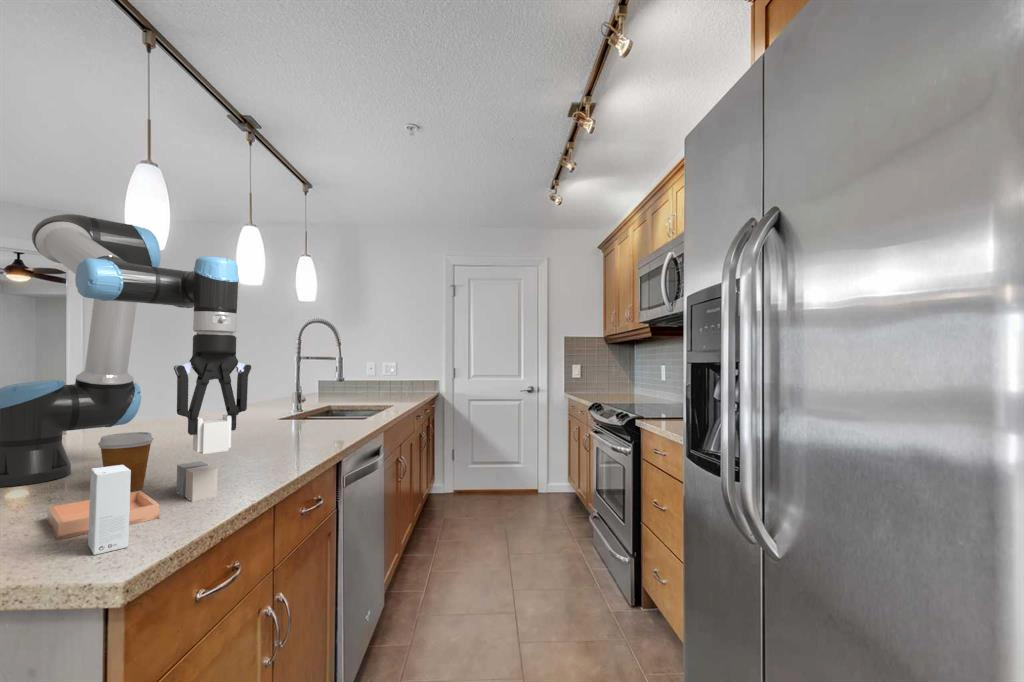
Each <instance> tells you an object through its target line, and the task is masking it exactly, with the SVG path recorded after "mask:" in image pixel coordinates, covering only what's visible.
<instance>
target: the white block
mask: <svg viewBox="0 0 1024 682" xmlns="http://www.w3.org/2000/svg"><path fill="white" fill-rule="evenodd" d="M229 449H230V448H229V421H227V420H223V418H220V419H219V418H216V419H207V420H204V419H203V423H202V452H198V453H200V454H202V455H206V454H207V455H208V454H214V453H221V452H228V451H229Z"/></svg>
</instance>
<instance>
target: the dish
mask: <svg viewBox="0 0 1024 682" xmlns="http://www.w3.org/2000/svg"><path fill="white" fill-rule="evenodd" d="M89 506H90V499H85V500H79V501H74V502H73V501H72V502H68V503H63V504H62V503H61V504H56V505H52V506H47V509H46V511H47V512H46V513H47V515H46V516H47V518H46V521H48V522H47V523H48V525H49V527H50V529H51V528H52V529H51V530H52V532H53V534H54V535H55V537H56V540H58V541H59V540H65V539H68V538H69V537H70V538H74V537H78V536H83V535H88V532H89ZM157 519H160V503H158V501H156V500H154V499H153V498H152V497H150V496H149V495H147V494H146V493H145V492H143V491H142V490H136V491H132V492H130V513H129V526H130V525H133V524H139V523H144V522H146V521H147V522H148V521H153V520H157Z"/></svg>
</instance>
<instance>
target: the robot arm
mask: <svg viewBox="0 0 1024 682" xmlns="http://www.w3.org/2000/svg"><path fill="white" fill-rule="evenodd" d="M31 241H32V244H33V246H34V248H35V249H36V251H37V252H38V253H39V254H41V255H42V256H43V257H44V258H45V259H47V260H48V261H51V262H54V263H57V264H62V265H63V266H64V267H66V268H67V269H68V270H69V271H71V272H72V273H73V274H75V279H74V280H75V282H74V283H75V287H76V288H77V292H78V294H79V295H80V296H82V297H84V298H86V299H93V302H92V311H91V319H90V325H89V326H90V327H89V335H88V341H87V342H88V343H87V350H86V357H85V358H86V359H85V366H84V370H83V371H81V372H80V373H78V374H77V375H76V376H75V382H74V383H73V384H66V382H65V381H64V380H63V379H58V378H57V379H47V380H36V381H35V380H34V381H28V382H27V381H26V382H20V383H14V384H8V385H4V386H2V387H0V487H1V488H3V487H4V488H5V487H15V486H26V485H32V484H37V483H43V482H48V481H49V482H50V481H53V480H58V479H61V478H64V477H67V476H69V475H71V473H72V472H71V471H72V464H71V461H70V459H69V457H68V455H67V451H66V449H65V447H64V445H63V432H67V431H68V432H69V431H78V430H88V429H98V428H99V429H101V428H112V427H115V426H122V425H123V426H124V425H126V424H128V423H130V422H131V421H132V420H133V419H134V418H135V417H136V415H137V414H138V411H139V410H140V406H141V401H142V396H141V393H142V392H141V391H142V390H141V387H140V385H139V384H138V383H137V382H134V376H132V375H131V374H130V373H129V372H128V371H129V370H128V368H129V362H130V355H131V348H132V339H133V333H134V325H135V319H136V311H137V303H140V304H152V305H162V306H163V305H164V306H173V307H176V308H183V309H184V308H187V309H191V308H192V309H193V320H192V321H193V325H192V330H193V332H196V334H194V335H193V336H192V355H191V357H190V359H189V361H188V362H186V363H182V364H177V365H174V366H173V371H174V374H175V375H176V379H177V380H176V391H177V392H176V414H177V415H179V416H182V417H186V419H187V433H188V435H190V436H192V437H193V438H192V451H194V452H196V453H199V452H202V423H203V421H204V419H203V418H202V417H199V416H200V411H201V408H202V405H203V400H204V397H205V394H206V390H207V387H208V385H209V383H210V381H213V380H217V381H218V383H219V386H220V390H221V394H222V397H223V401H224V407H225V410H226V413H227V414H222V419H223V420H227V421H229V449H230V448H232V432H233V431H236V429H237V417H238V415H239V414H240V413H242V412H245V411H247V409H248V388H249V387H248V386H249V385H248V384H249V383H248V382H249V374H250V372H251V371H252V365H251V364H247V363H246V364H245V363H242V362H239V360H238V357H237V337H236V335H234V334H235V333H236V332H237V324H238V323H237V322H238V312H237V311H238V300H239V299H238V298H239V297H238V294H239V279H240V278H239V274H238V273H239V272H238V271H239V270H238V269H239V268H238V263H237V262H236V261H234V260H233V259H229V258H225V257H219V256H199V257H197V258H196V259H195V262H194V267H193V271H190V270H188V271H187V270H181V269H180V270H179V269H173V268H167V267H165V268H164V267H159V266H160V264H161V249H160V244H159V241H158V239H157V237H156V235H155V234H154V233H153V232H152V230H149V229H147V228H145V227H140V226H138V225H134V224H130V223H129V224H127V223H122V222H117V221H113V220H105V219H101V218H96V217H90V216H87V215H80V214H74V213H73V214H71V213H69V214H67V213H66V214H57V215H52V216H49V217H47V218H44V219H42V220H41V221H40V222H38V223H37V224H36V225H35V227H34V228H33V229H32V232H31ZM191 368H192V370H193V371H194V373H195V374H196V375H197V377H196V382H195V383H196V384H195V387H194V389H193V394H192V396H191V397H192V398H191V401H190V405H189V374H190V373H191ZM235 369H236V372H237V378H236V379H237V381H236V401H235V395H234V390H233V387H232V378H231V374H232V372H233V371H234V370H235Z"/></svg>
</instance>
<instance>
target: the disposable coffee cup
mask: <svg viewBox="0 0 1024 682" xmlns="http://www.w3.org/2000/svg"><path fill="white" fill-rule="evenodd" d="M153 440H154V437H153V436H152V433H151V432H148V431H145V432H144V431H139V432H138V431H137V432H136V431H134V432H131V431H130V432H122V433H120V432H119V433H112V434H107V435H102V436H101V437H100V441H99V442H97V446H99V448H100V451H101V452H100V454H101V459H102V467H108V466H116V465H124V466H125V467H127V468H128V469H130V470H131V481H130V491H132V492H136V491H140V490H141V488H142V489H143V488H144V486H145V485H144V484H145V479H146V473H147V468H148V462H149V456H150V455H149V454H150V449H151V444H153ZM135 490H136V491H135Z"/></svg>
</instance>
